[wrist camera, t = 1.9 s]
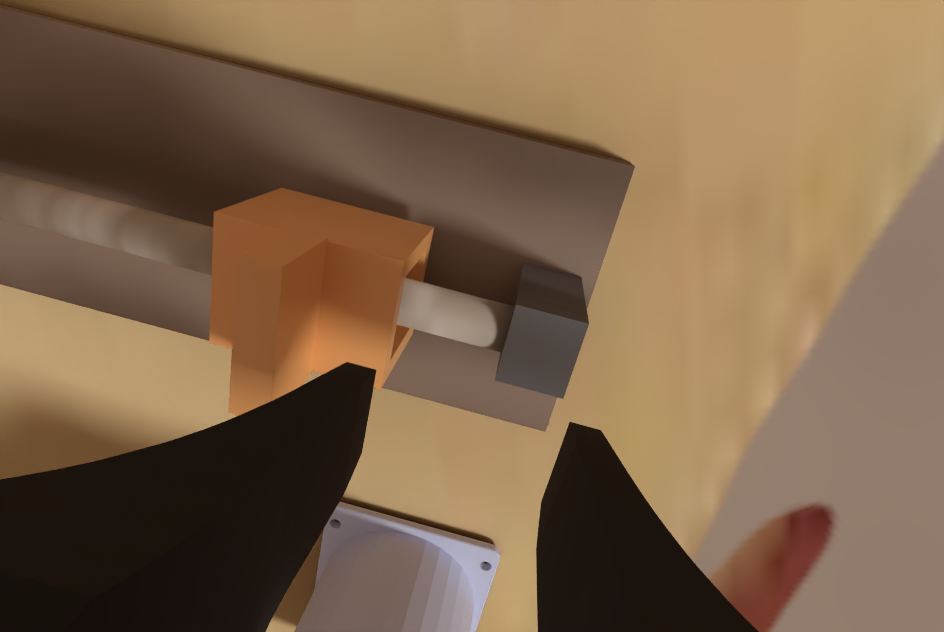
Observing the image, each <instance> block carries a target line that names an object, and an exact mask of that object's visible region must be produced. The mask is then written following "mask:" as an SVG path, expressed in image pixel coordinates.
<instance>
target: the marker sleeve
mask: <svg viewBox="0 0 944 632" xmlns="http://www.w3.org/2000/svg"><path fill="white" fill-rule="evenodd" d="M433 231H434V227H432V226H428V225H424V224H420V223H417V222H413V221H409V220H405V219H401V218H397V217H393V216H389V215H386V214H382V213H378V212H374V211H370V210H366V209H362V208H358V207H355V206H351V205H347V204H343V203H339V202H335V201H331V200H328V199H324V198H320V197H316V196H312V195H308V194H304V193H300V192H297V191H293V190H289V189H285V188H280V189H277V190H274V191H271V192H268V193H266V194H263V195H260V196H257V197H254V198H251V199H249V200H246V201H243V202H240V203H237V204H235V205H232V206H229V207H226V208H223V209H221V210H218V211H215V212H214V222H213V251H212V279H211V308H210V337H209V343H211V344H215V345H219V346H222V347H226V348H230V349H232V360H231V378H230V397H229V413H233V414H236V415H241V414H243V413H246V412H248V411H250V410H252V409H255V408H257V407H259V406H261V405H264V404H266V403H268V402H270V401H273V400H275V399H277V398H279V397H281V396H283V395H285V394H287V393H289V392H291V391H293V390H295V389H297V388H298V387H300V386H301V385H302V384H303V383H304V382H305V380H306V379H307V378H308V377H309V376H310V375H311V372H312V371H314V372H318V373H322V374H325V373H327V372H328V371H330V370H332V369H334V368H336V367H338V366H340V365H342V364H344V363H346V362H349V363H353V364H357V365H361V366H364V367H368V368H372V369H375V370H376V375H375V381H374V388H377V389H381V388H382V386H383V384H384V383H385V381H386V379H387V378H388V376H389V374H390V372H391V371H392V369H393V367H394V365H395V364H396V362H397V360H398V359H399V357H400V355H401V353H402V352H403V350H404V348H405V346H406V345H407V343H408V341H409V339H410V338H411V336H412V334H413V330H414V329H411V328H408V327H404V326H400V325H397V321H398V316H399V310H400V305H401V300H402V294H403V289H404V284H405V278H408V279H412V280H416V281H420V282H423V280H424V276H425V271H426V266H427V261H428V256H429V251H430V246H431V241H432V236H433Z"/></svg>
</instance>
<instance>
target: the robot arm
mask: <svg viewBox="0 0 944 632" xmlns="http://www.w3.org/2000/svg"><path fill="white" fill-rule="evenodd" d="M375 375H376V370H375V369H372V368H368V367H364V366H361V365H357V364H353V363H349V362H346V363H344V364H342V365H340V366H338V367H336V368H334V369H332V370H330V371H328V372H327V373H325V374H323V375H321V376H319V377H317V378H315V379H314V380H312V381H310V382H308V383H306V384H304V385H302V386H300V387H298V388H297V389H295V390H293V391H291V392H289V393H287V394H285V395H283V396H281V397H279V398H277V399H275V400H273V401H270V402H268V403H266V404H264V405H261V406H259V407H257V408H255V409H252V410H250V411H248V412H246V413H243V414H241V415H239V416H237V417H234V418H232V419H230V420H227V421H225V422H222V423H220V424H217V425H215V426H212V427H209V428H207V429H204V430H201V431H198V432H195V433H192V434H189V435H187V436H184V437H181V438H178V439H175V440H172V441H168V442H165V443H162V444H158V445H155V446H151V447H147V448H144V449H140V450H136V451H132V452H129V453H125V454H121V455H118V456H114V457H110V458H106V459H103V460H98V461H94V462H90V463H85V464H80V465H76V466H71V467H66V468H62V469H57V470H52V471H46V472H41V473H35V474H30V475H25V476H19V477H13V478H7V479H1V480H0V632H265V631H266V629H267V627H268V625H269V623H270V621H271V619H272V617H273V615H274V613H275V611H276V609H277V607H278V606H279V604H280V602H281V600H282V598H283V596H284V595H285V593H286V591H287V589H288V588H289V586H290V584H291V583H292V581H293V579H294V578H295V576H296V574H297V573H298V571H299V569H300V568H301V566H302V564H303V563H304V561H305V559H306V557H307V556H308V554H309V552H310V551H311V549H312V547H313V546H314V544H315V542H316V541H317V539H318V537H319V536H320V534H321V532H322V531H323V536H322V543H321V549H320V556H319V562H318V569H317V575H316V582H315V588H314V592H313V594H312V596H311V598H310V600H309V602H308V604H307V606H306V608H305V611H304V613H303V615H302V617H301V619H300V621H299V623H298V625H297V627H296V629H295V631H294V632H475V631H476V628H477V625H478V622H479V620H480V617H481V614H482V611H483V608H484V605H485V602H486V599H487V596H488V593H489V590H490V587H491V584H492V581H493V578H494V575H495V572H496V569H497V566H498V563H499V559H500V551H499V548H497V547H496V546H495V545H493V544H490V543H486V542H483V541H479V540H476V539H472V538H468V537H465V536H461V535H458V534H454V533H451V532H447V531H443V530H440V529H436V528H433V527H429V526H426V525H422V524H418V523H415V522H411V521H408V520H404V519H401V518H397V517H393V516H390V515H386V514H383V513H379V512H376V511H372V510H368V509H365V508H361V507H358V506H354V505H351V504H347V503H343V502H340V500H341V498H342V497H343V495H344V492H345V490H346V488H347V486H348V483H349V481H350V479H351V477H352V474H353V472H354V470H355V467H356V465H357V463H358V460H359V458H360V456H361V453H362V449H363V443H364V438H365V432H366V426H367V421H368V415H369V409H370V404H371V398H372V392H373V387H374V381H375ZM334 519H336V520H338V521H339V522H337V521H335V520H334ZM536 556H537V610H538V632H758V631H757V630H756V629H755V628H754V627H753V626H752V625H751V624H750V623H749V622H748V621H747V620H746V619H745V618H744V617H743V616H742V615H741V614H740V613H739V612H738V611H737V610H736V609H735V608H734V607H733V605H732V604H731V603H730V602H729V601H728V600H727V599H726V598H725V597H724V596H723V595H722V594H721V593H720V591H719V590H718V589H717V588H716V587H715V586H714V585H713V584H712V583H711V581H710V580H709V579H708V578H707V577H706V576H705V575H704V574H703V572H702V571H701V570H700V569H699V568H698V567H697V566H696V565H695V563H694V562H693V561H692V560H691V559H690V557H689V556H688V555H687V554H686V553H685V551H684V550H683V549H682V547H681V546H680V545H679V544H678V542H677V541H676V540H675V538H674V537H673V536H672V535H671V533H670V532H669V531H668V529H667V528H666V527H665V526H664V524H663V523H662V522H661V520H660V519H659V517H658V516H657V515H656V513H655V512H654V511H653V509H652V508H651V506H650V505H649V503H648V502H647V501H646V499H645V498H644V496H643V495H642V493H641V492H640V490H639V489H638V487H637V486H636V484H635V483H634V481H633V480H632V478H631V477H630V475H629V474H628V472H627V471H626V469H625V467H624V466H623V464H622V463H621V461H620V460H619V458H618V456H617V455H616V453H615V452H614V450H613V449H612V447H611V445H610V444H609V442H608V441H607V439H606V438H605V436H604V434H603V433H602V432H601V430H598V429H594V428H591V427H587V426H583V425H579V424H576V423H572V422H570V423H569V426H568V429H567V431H566V434H565V437H564V440H563V443H562V445H561V448H560V451H559V454H558V457H557V460H556V462H555V465H554V468H553V471H552V474H551V476H550V479H549V482H548V485H547V488H546V490H545V493H544V496H543V499H542V502H541V510H540V519H539V528H538V538H537V549H536ZM483 562H488V563H489V564H485V563H483Z"/></svg>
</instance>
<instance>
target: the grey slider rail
mask: <svg viewBox="0 0 944 632" xmlns="http://www.w3.org/2000/svg"><path fill="white" fill-rule="evenodd" d="M634 168H635V166H634V165H632V164H631V163H630V162H628V161H624V160H620V159H616V158H612V157H608V156H604V155H600V154H596V153H592V152H588V151H584V150H580V149H576V148H572V147H568V146H564V145H560V144H556V143H552V142H548V141H544V140H540V139H536V138H532V137H528V136H524V135H520V134H516V133H512V132H508V131H504V130H500V129H496V128H492V127H488V126H484V125H480V124H476V123H472V122H468V121H464V120H460V119H456V118H452V117H448V116H444V115H440V114H436V113H432V112H428V111H424V110H420V109H416V108H412V107H408V106H404V105H400V104H396V103H392V102H388V101H384V100H380V99H376V98H372V97H368V96H364V95H360V94H356V93H352V92H348V91H344V90H340V89H336V88H332V87H328V86H324V85H320V84H316V83H312V82H308V81H304V80H300V79H296V78H292V77H288V76H284V75H280V74H276V73H272V72H268V71H264V70H260V69H256V68H252V67H248V66H244V65H240V64H236V63H232V62H228V61H224V60H220V59H216V58H212V57H208V56H204V55H200V54H196V53H192V52H188V51H184V50H180V49H176V48H172V47H168V46H164V45H160V44H156V43H152V42H148V41H144V40H140V39H136V38H132V37H128V36H124V35H120V34H116V33H112V32H108V31H104V30H100V29H96V28H92V27H88V26H84V25H80V24H76V23H72V22H68V21H64V20H60V19H56V18H52V17H48V16H44V15H40V14H36V13H32V12H28V11H24V10H20V9H16V8H12V7H8V6H4V5H0V284H2V285H6V286H9V287H13V288H17V289H20V290H24V291H28V292H31V293H35V294H39V295H43V296H46V297H50V298H54V299H57V300H61V301H65V302H68V303H72V304H76V305H79V306H83V307H87V308H91V309H94V310H98V311H102V312H105V313H109V314H113V315H116V316H120V317H124V318H128V319H131V320H135V321H139V322H142V323H146V324H150V325H153V326H157V327H161V328H164V329H168V330H172V331H176V332H179V333H183V334H187V335H190V336H194V337H198V338H201V339H205V340H209V337H210V308H211V279H212V251H213V222H214V212H215V211H218V210H221V209H223V208H226V207H229V206H232V205H235V204H237V203H240V202H243V201H246V200H249V199H251V198H254V197H257V196H260V195H263V194H266V193H268V192H271V191H274V190H277V189H280V188H285V189H289V190H293V191H297V192H300V193H304V194H308V195H312V196H316V197H320V198H324V199H328V200H331V201H335V202H339V203H343V204H347V205H351V206H355V207H358V208H362V209H366V210H370V211H374V212H378V213H382V214H386V215H389V216H393V217H397V218H401V219H405V220H409V221H413V222H417V223H420V224H424V225H428V226H432V227H434V231H433V236H432V241H431V246H430V251H429V256H428V261H427V266H426V271H425V276H424V280H423V282H420V281H416V280H412V279H408V278H405V284H404V289H403V294H402V300H401V305H400V310H399V316H398V321H397V325H400V326H404V327H408V328H411V329H414V330H413V334H412V336H411V338H410V339H409V341H408V343H407V345H406V346H405V348H404V350H403V352H402V353H401V355H400V357H399V359H398V360H397V362H396V364H395V365H394V367H393V369H392V371H391V372H390V374H389V376H388V378H387V379H386V381H385V383H384V384H383V386H382V388H386V389H390V390H393V391H397V392H401V393H404V394H408V395H412V396H416V397H419V398H423V399H427V400H430V401H434V402H438V403H441V404H445V405H449V406H452V407H456V408H460V409H464V410H467V411H471V412H475V413H478V414H482V415H486V416H489V417H493V418H497V419H500V420H504V421H508V422H512V423H515V424H519V425H523V426H526V427H530V428H534V429H537V430H541V431H546V428H547V425H548V422H549V419H550V417H551V414H552V411H553V408H554V405H555V402H556V399H557V397H558V398H562V399H563V398H564V395H565V392H566V389H567V386H568V383H569V380H570V377H571V374H572V371H573V368H574V366H575V363H576V360H577V357H578V354H579V351H580V348H581V345H582V342H583V339H584V336H585V333H586V331H587V328H588V325H589V322H588V315H587V307H588V304H589V301H590V298H591V295H592V292H593V289H594V286H595V283H596V280H597V277H598V274H599V271H600V268H601V265H602V262H603V259H604V257H605V254H606V251H607V248H608V245H609V242H610V239H611V236H612V233H613V230H614V227H615V224H616V221H617V218H618V215H619V212H620V209H621V206H622V203H623V200H624V197H625V194H626V191H627V188H628V185H629V182H630V179H631V177H632V174H633V171H634Z"/></svg>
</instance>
